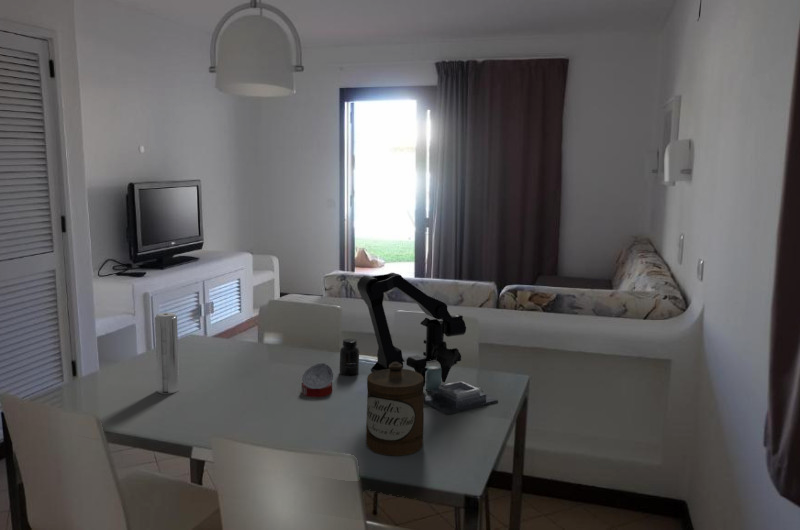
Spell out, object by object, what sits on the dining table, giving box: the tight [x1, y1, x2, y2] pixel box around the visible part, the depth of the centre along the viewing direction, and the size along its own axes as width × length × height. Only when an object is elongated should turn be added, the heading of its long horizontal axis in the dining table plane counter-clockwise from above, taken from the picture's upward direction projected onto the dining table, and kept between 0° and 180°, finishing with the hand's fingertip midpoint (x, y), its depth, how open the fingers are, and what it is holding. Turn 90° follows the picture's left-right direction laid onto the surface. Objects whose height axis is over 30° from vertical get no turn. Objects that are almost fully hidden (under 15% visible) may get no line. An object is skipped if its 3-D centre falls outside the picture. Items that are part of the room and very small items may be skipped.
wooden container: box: [365, 362, 425, 457], centre depth 158 cm, size 15×15×22 cm
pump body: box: [425, 365, 442, 392], centre depth 201 cm, size 5×5×7 cm
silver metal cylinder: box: [154, 312, 180, 395], centre depth 193 cm, size 6×6×25 cm
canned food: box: [301, 363, 334, 398], centre depth 196 cm, size 11×10×10 cm
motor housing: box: [423, 380, 499, 416], centre depth 190 cm, size 20×14×4 cm
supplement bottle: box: [338, 338, 360, 377], centre depth 214 cm, size 7×7×12 cm
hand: (433, 384), depth 201 cm, fingers open, 8 cm apart
